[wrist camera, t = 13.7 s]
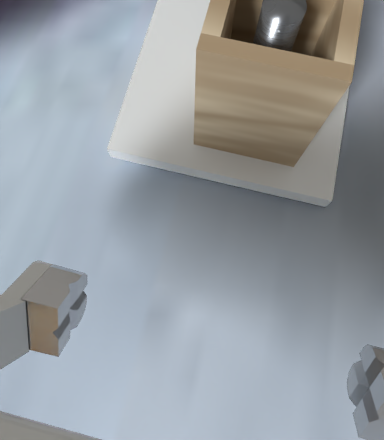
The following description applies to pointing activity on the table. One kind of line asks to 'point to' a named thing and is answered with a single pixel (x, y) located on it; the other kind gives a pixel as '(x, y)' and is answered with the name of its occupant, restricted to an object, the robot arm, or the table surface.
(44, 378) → the table surface
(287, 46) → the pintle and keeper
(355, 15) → the wooden pencil holder
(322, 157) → the base plate
